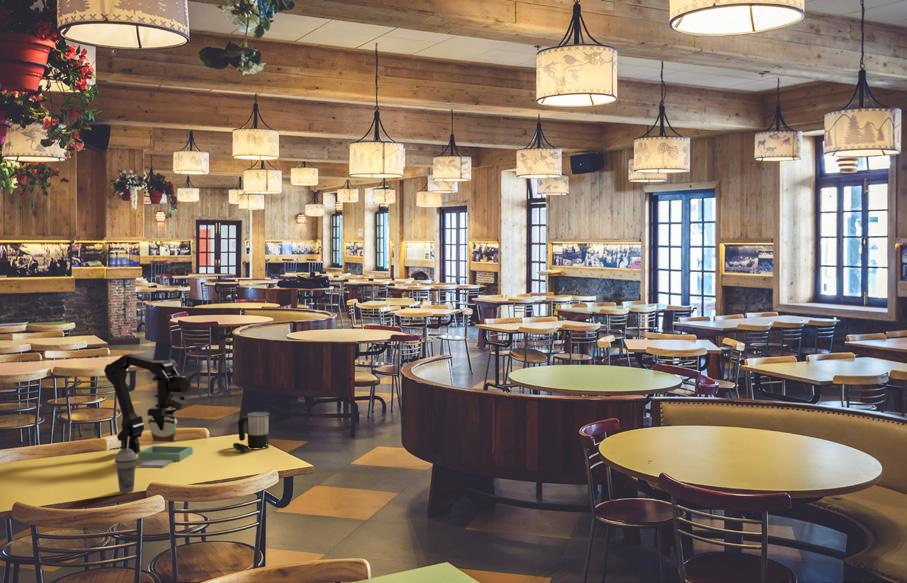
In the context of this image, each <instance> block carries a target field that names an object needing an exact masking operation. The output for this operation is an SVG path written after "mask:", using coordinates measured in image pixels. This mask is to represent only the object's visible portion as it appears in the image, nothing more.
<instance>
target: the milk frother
mask: <svg viewBox="0 0 907 583" xmlns="http://www.w3.org/2000/svg"><path fill="white" fill-rule="evenodd" d="M269 415H270V413H269V412H265V411H256V412H255V411H253V412H249V413H247V414H246V415H245V416H242V417H240V419H238V422H237V427H238V428H237V429H238V430H237V431H238V439H239V441H241V442H242V441H245V439H246V430H245V428H246V427H245V422H247V445H245V444H243V443H238V442H234V443H233V444H232V446H233V448H234V449H235V450H236V451H239V452H242V453H248V452H250V450H251V449H249V448H263V447H265V449H267V447H268V448H270V445H269ZM266 444H267V445H266ZM268 445H269V446H268ZM248 447H249V448H248ZM247 451H248V452H247Z"/></svg>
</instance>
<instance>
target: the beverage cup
mask: <svg viewBox="0 0 907 583" xmlns="http://www.w3.org/2000/svg"><path fill="white" fill-rule="evenodd" d="M128 446H129V436H128V440H127V448H124V449H121V448H120V449H119V451H118V452H117V453H116V455H115V460H114V464H115V466H116V474H117V482H118V489H119V493H120V492H121V493H120V494H123V493H125V494H129V493H128V492H131V493H133V492H134V489H135V488H134V487H135V475H136V467H135V465H136V461H137V460H138V457H137V455H136V454H137V453H136V454H135V453H134V451H133V450H131V449H129V448H128ZM132 491H133V492H132Z"/></svg>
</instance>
